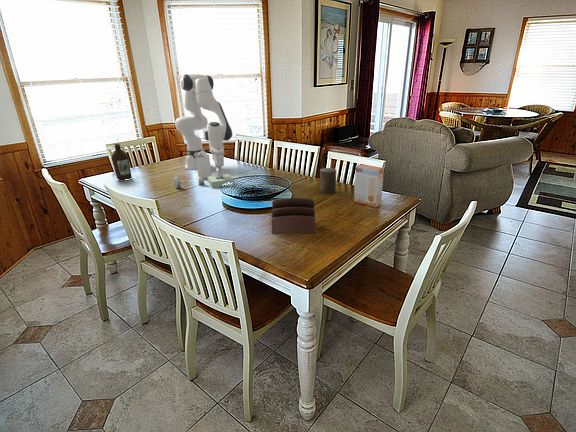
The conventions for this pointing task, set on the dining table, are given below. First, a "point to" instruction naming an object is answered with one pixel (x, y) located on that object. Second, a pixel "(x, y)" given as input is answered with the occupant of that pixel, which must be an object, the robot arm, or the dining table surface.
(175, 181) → the medium pin
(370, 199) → the cracker box
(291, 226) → the letter holder
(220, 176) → the tall pin
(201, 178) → the short pin
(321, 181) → the pillar candle
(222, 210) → the dining table surface
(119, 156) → the olive oil
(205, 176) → the milk carton
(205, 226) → the dining table surface
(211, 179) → the socket block
